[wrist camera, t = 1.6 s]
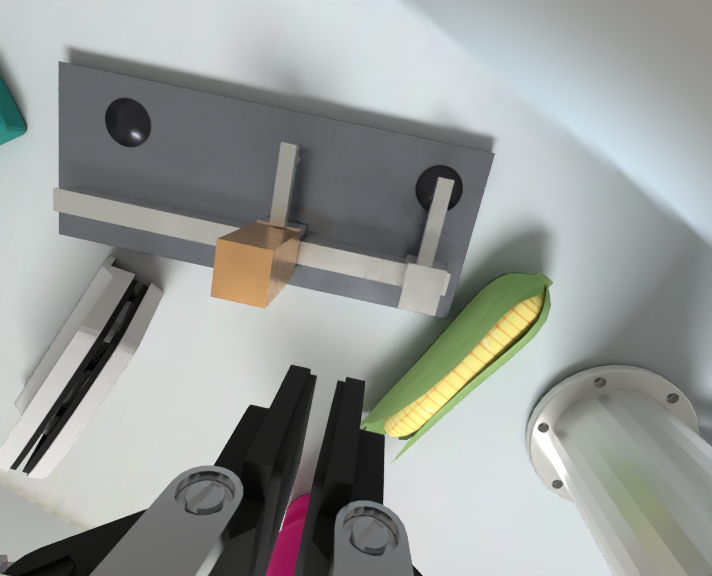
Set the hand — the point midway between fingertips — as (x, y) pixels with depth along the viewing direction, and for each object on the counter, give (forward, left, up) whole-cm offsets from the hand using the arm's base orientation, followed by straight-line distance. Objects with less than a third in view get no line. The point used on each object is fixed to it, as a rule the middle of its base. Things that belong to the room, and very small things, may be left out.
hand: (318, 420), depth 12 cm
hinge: (+20, +13, -22) cm, 32 cm away
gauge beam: (+8, -3, -20) cm, 22 cm away
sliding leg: (+6, -3, -20) cm, 21 cm away
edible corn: (-8, +7, -22) cm, 24 cm away
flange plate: (+8, -3, -21) cm, 23 cm away
